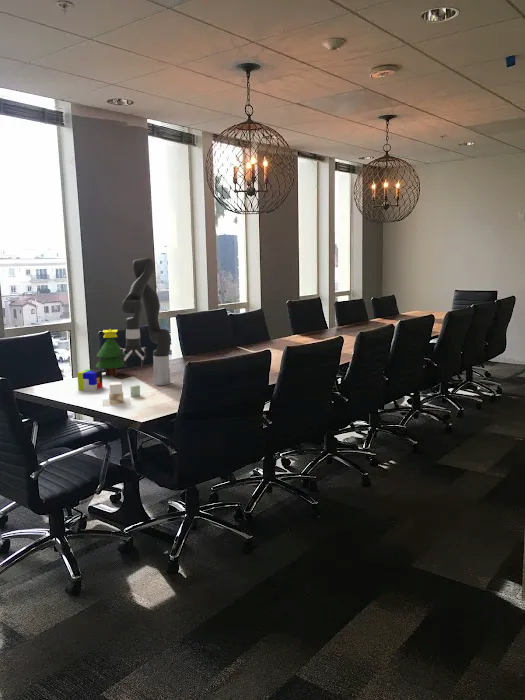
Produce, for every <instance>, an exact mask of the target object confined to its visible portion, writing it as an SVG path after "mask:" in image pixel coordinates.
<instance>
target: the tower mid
mask: <svg viewBox="0 0 525 700" xmlns="http://www.w3.org/2000/svg"><path fill="white" fill-rule="evenodd" d="M122 391H123V384H122V381H112V382H109V392H110V394H122Z"/></svg>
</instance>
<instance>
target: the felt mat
mask: <svg viewBox="0 0 525 700" xmlns="http://www.w3.org/2000/svg"><path fill="white" fill-rule="evenodd" d="M123 398H124V403H119V404H110V402H109V398H108V399H102V407H111V406H112V407H114V406H116V407H117V406H126V405H127V406H128V405H132V403H131V399H130V397H123Z"/></svg>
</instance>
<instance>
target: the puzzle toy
mask: <svg viewBox="0 0 525 700" xmlns="http://www.w3.org/2000/svg"><path fill="white" fill-rule="evenodd" d="M103 387H104V386H103V370H102V369H84V370H81V371H79V372H77V389H78V391H90V392H91V391H93V392H95V391H96V390H99V389H101V388H103Z"/></svg>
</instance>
